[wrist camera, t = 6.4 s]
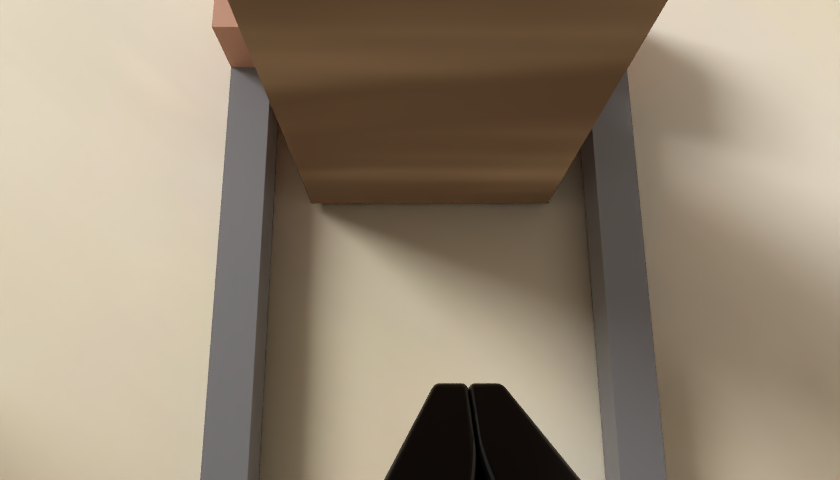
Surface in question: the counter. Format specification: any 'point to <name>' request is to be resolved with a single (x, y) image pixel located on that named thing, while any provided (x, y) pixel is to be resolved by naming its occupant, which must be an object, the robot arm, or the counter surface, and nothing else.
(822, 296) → the counter surface
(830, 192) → the counter surface
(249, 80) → the twin grey rails
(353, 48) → the brown wooden tall block
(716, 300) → the counter surface
